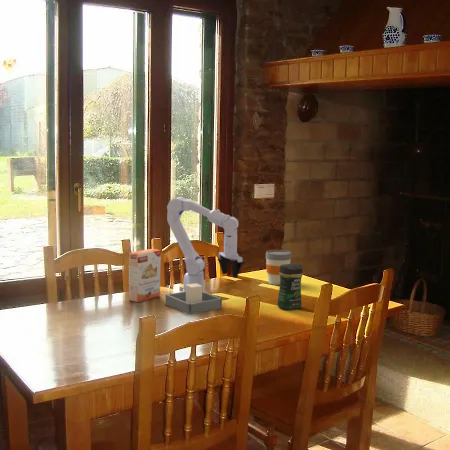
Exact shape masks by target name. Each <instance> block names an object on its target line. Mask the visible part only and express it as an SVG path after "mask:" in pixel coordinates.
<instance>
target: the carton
mask: <svg viewBox="0 0 450 450" xmlns="http://www.w3.org/2000/svg"><path fill="white" fill-rule="evenodd" d="M186 302H187V303H189V304H192V303H198V302H202V286H201V285H199V284H197V283H195V284H187V285H186Z"/></svg>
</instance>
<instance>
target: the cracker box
mask: <svg viewBox="0 0 450 450" xmlns="http://www.w3.org/2000/svg"><path fill="white" fill-rule="evenodd" d="M161 253H162V250H160V249H156V248H149V249H143V250H137V251H132V252H128V301H131V302H134V303H136V304H137V303H140V302H145V301H147V300H151V299H155V298H156V299H157V298H159V297H161V262H162V260H161V258H162V257H161V256H162V255H161Z"/></svg>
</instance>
